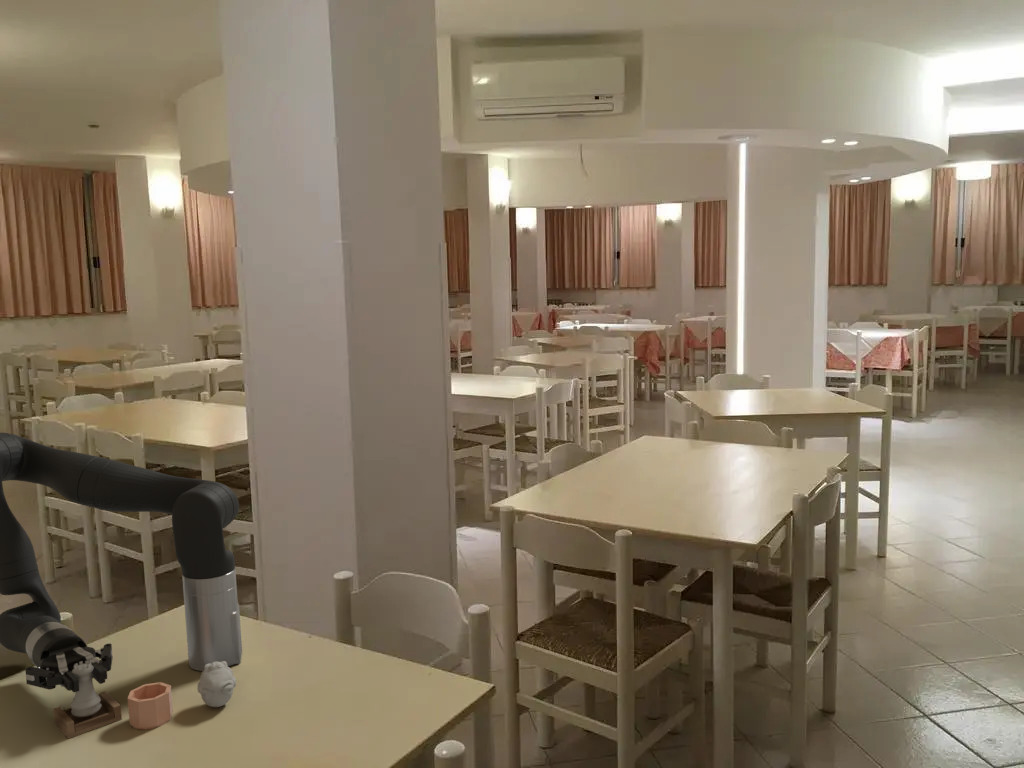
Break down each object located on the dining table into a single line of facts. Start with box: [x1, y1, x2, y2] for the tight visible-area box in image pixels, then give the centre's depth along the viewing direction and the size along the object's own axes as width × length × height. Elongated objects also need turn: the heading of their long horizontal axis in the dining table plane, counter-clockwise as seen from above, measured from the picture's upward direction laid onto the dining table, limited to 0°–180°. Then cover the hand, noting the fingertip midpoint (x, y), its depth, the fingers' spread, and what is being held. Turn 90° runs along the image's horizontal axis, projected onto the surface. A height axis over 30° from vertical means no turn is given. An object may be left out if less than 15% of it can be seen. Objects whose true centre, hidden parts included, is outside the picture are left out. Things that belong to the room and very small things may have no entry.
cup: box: [127, 681, 174, 730], centre depth 136 cm, size 6×6×5 cm
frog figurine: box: [197, 661, 237, 708], centre depth 140 cm, size 6×7×7 cm
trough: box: [52, 691, 123, 739], centre depth 136 cm, size 7×8×2 cm
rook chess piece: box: [70, 661, 102, 717], centre depth 136 cm, size 4×4×8 cm
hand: (89, 681), depth 133 cm, fingers closed on rook chess piece, 3 cm apart
